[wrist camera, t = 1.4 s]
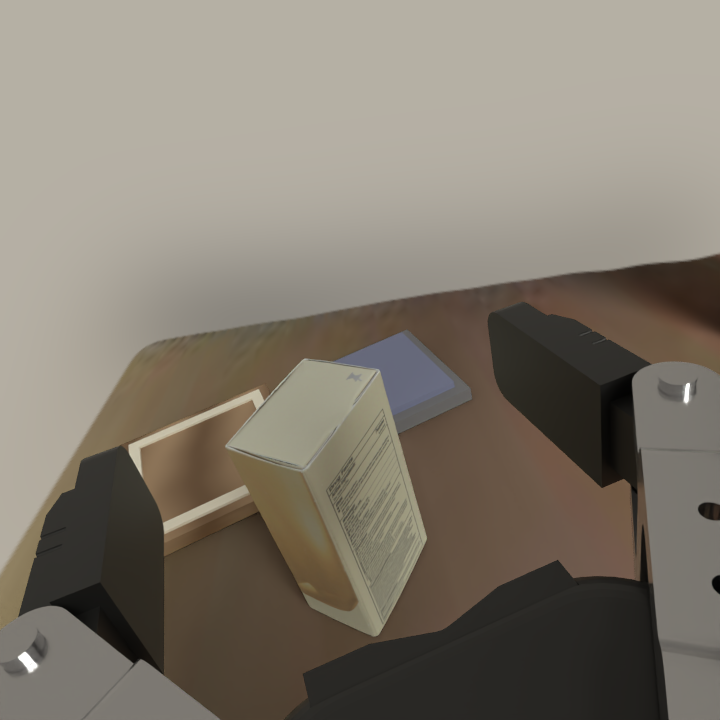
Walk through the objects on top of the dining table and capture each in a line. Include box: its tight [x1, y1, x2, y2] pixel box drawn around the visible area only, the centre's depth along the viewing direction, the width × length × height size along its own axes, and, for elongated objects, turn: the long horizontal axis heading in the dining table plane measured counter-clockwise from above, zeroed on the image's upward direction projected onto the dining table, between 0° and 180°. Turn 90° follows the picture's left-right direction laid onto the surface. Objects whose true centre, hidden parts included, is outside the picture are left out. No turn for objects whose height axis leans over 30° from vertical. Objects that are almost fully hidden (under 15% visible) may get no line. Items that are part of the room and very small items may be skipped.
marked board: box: [120, 383, 271, 556], centre depth 40 cm, size 12×12×1 cm
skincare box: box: [225, 359, 427, 637], centre depth 27 cm, size 6×4×12 cm
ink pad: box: [333, 330, 472, 434], centre depth 43 cm, size 10×10×2 cm
